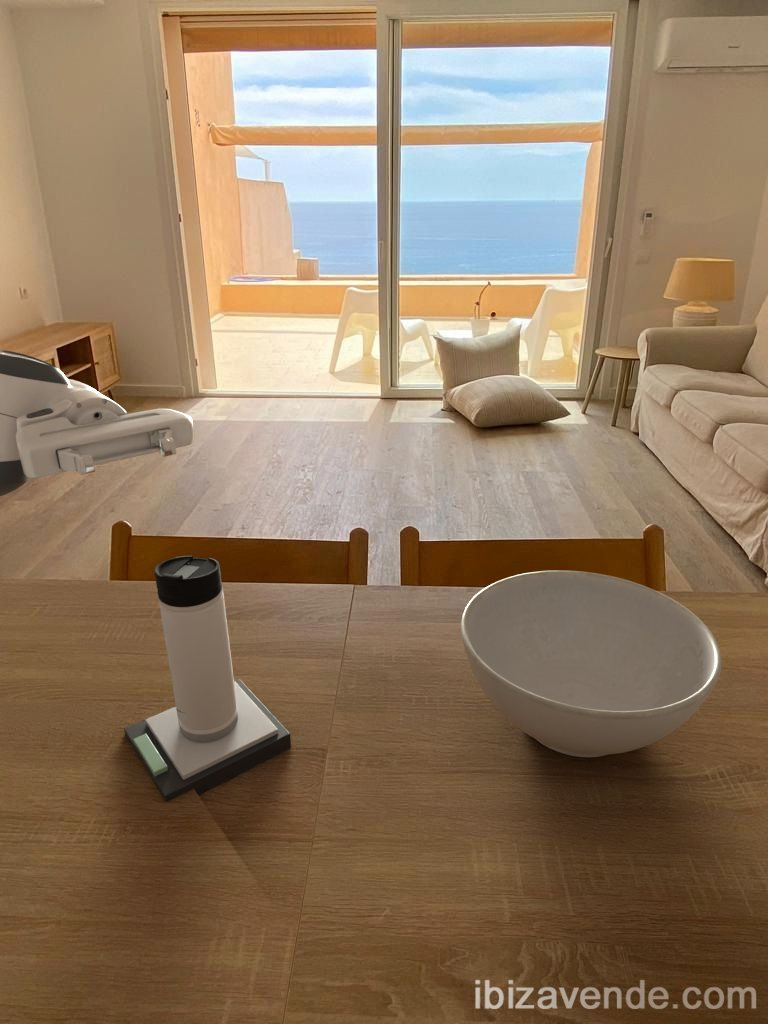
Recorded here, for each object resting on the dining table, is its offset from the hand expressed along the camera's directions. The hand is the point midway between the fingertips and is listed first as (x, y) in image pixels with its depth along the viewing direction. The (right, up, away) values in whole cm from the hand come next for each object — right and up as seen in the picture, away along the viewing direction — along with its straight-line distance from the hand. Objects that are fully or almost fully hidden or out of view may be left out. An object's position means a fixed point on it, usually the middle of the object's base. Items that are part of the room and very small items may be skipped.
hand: (130, 457), depth 79 cm
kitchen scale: (+10, -32, -3) cm, 33 cm away
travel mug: (+10, -30, -3) cm, 31 cm away
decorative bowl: (+51, -30, +1) cm, 59 cm away
